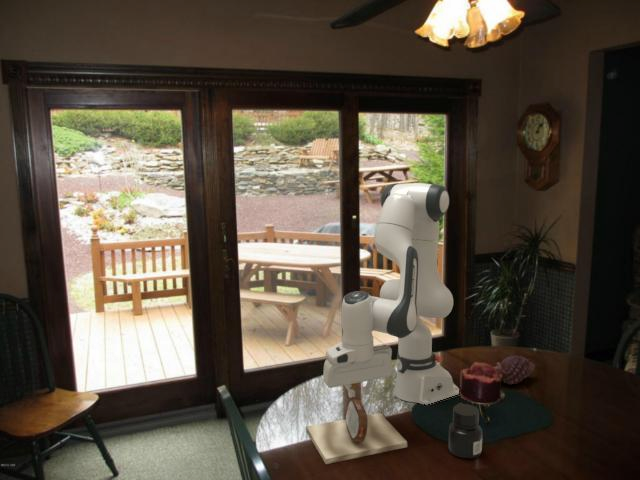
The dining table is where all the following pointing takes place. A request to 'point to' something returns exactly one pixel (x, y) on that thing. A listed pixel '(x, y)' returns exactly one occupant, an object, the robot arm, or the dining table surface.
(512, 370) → the pine cone
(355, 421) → the tin
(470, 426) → the ink bottle
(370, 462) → the dining table surface
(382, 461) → the dining table surface
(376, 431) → the birch board
